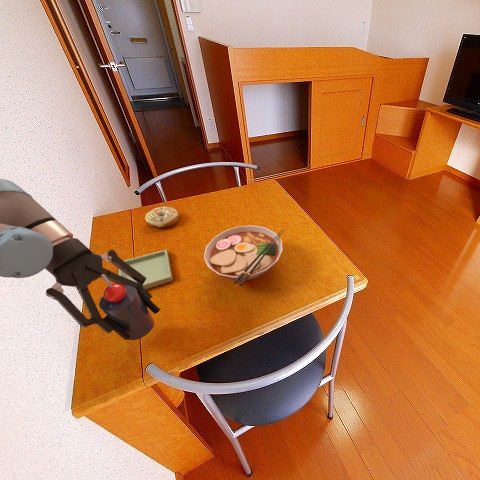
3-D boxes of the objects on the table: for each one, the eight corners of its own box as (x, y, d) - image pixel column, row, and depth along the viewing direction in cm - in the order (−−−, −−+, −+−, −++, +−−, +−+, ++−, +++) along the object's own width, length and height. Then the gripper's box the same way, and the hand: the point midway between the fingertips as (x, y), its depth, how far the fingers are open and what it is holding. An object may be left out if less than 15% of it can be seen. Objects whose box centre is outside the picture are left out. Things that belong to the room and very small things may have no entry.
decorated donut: (163, 233, 97) (159, 224, 95) (141, 224, 100) (137, 216, 98) (185, 217, 104) (182, 209, 102) (164, 210, 108) (161, 202, 105)
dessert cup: (115, 339, 62) (71, 286, 51) (133, 313, 67) (97, 260, 56) (144, 341, 62) (107, 289, 50) (160, 316, 67) (130, 263, 56)
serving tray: (121, 297, 76) (118, 292, 75) (121, 266, 84) (118, 262, 83) (172, 280, 81) (171, 276, 80) (168, 253, 90) (166, 249, 88)
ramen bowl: (241, 233, 98) (237, 214, 93) (298, 252, 92) (297, 233, 87) (190, 281, 81) (181, 261, 76) (256, 308, 74) (252, 289, 69)
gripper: (101, 228, 65) (173, 296, 71) (-3, 286, 51) (98, 364, 57) (106, 216, 60) (183, 290, 66) (-8, 276, 46) (103, 363, 52)
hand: (143, 324), depth 61 cm, fingers closed on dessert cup, 7 cm apart
